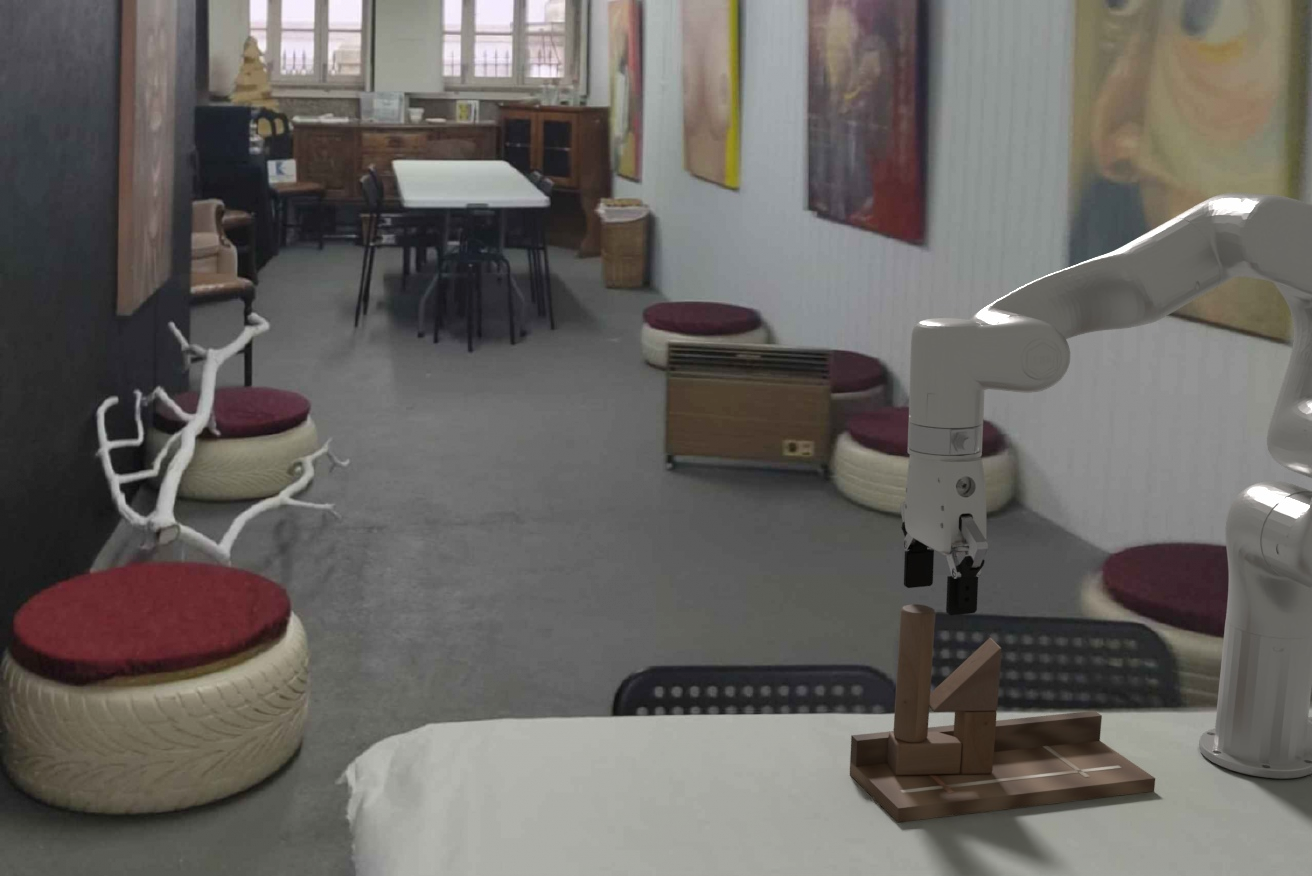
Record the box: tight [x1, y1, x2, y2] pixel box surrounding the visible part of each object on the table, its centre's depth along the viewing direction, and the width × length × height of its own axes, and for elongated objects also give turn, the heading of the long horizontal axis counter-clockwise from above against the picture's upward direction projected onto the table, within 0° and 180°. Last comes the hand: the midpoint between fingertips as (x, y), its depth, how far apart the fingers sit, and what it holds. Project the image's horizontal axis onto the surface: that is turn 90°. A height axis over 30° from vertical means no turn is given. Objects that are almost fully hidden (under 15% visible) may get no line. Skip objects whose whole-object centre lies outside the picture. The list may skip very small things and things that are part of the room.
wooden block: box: [887, 603, 1003, 775], centre depth 158 cm, size 4×11×18 cm, turn 96°
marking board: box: [849, 710, 1156, 823], centre depth 160 cm, size 30×12×4 cm, turn 106°
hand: (939, 599), depth 156 cm, fingers open, 9 cm apart
